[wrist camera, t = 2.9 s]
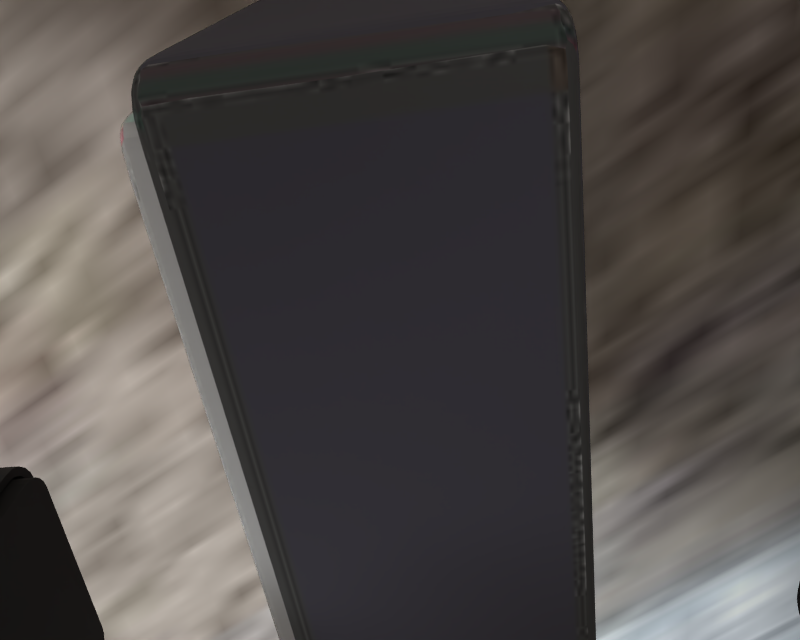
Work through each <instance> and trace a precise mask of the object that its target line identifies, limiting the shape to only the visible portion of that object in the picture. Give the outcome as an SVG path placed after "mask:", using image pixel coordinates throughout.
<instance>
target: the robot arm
mask: <svg viewBox="0 0 800 640" xmlns="http://www.w3.org/2000/svg"><path fill="white" fill-rule="evenodd" d="M797 603H798V610H799V614H800V583H799V588H798V594H797ZM0 640H104V632H103V628H102V625H101V623H100V620H99V618H98V615H97V613H96V610H95V608H94V605H93V603H92V600H91V598H90V595H89V593H88V590H87V587H86V585H85V582H84V580H83V577H82V575H81V572H80V570H79V567H78V565H77V562H76V560H75V557H74V555H73V552H72V550H71V547H70V544H69V542H68V539H67V537H66V534H65V532H64V529H63V527H62V524H61V522H60V519H59V517H58V514H57V512H56V509H55V507H54V504H53V502H52V499H51V496H50V494H49V491H48V489H47V487H46V485H45V483H44V481H42V480H41V479H40V478H33V476H32V474H31V472H29V471H28V470H27V469H26V468H23V467H5V468H0Z"/></svg>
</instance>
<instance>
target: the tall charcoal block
mask: <svg viewBox="0 0 800 640" xmlns="http://www.w3.org/2000/svg"><path fill="white" fill-rule="evenodd" d="M131 95H132V110H133V112H132V113H130V114H129V115H128V116H127V117H126V119H125V121H124V122H123V124H122V126H121V132H120V139H121V146H122V152H123V155H124V159H125V163H126V166H127V170H128V174H129V177H130V181H131V184H132V187H133V190H134V193H135V196H136V199H137V203H138V206H139V209H140V212H141V215H142V218H143V221H144V224H145V227H146V230H147V233H148V236H149V239H150V242H151V246H152V249H153V252H154V255H155V258H156V261H157V264H158V267H159V270H160V273H161V276H162V279H163V282H164V286H165V289H166V292H167V295H168V298H169V301H170V304H171V307H172V310H173V313H174V316H175V319H176V322H177V326H178V329H179V332H180V335H181V338H182V341H183V344H184V347H185V350H186V353H187V356H188V359H189V362H190V365H191V369H192V372H193V375H194V378H195V381H196V384H197V387H198V390H199V393H200V396H201V399H202V402H203V405H204V409H205V412H206V415H207V418H208V421H209V424H210V427H211V430H212V433H213V436H214V439H215V442H216V445H217V448H218V452H219V455H220V458H221V461H222V464H223V467H224V470H225V473H226V476H227V479H228V482H229V485H230V488H231V492H232V495H233V498H234V501H235V504H236V507H237V510H238V513H239V516H240V519H241V522H242V525H243V528H244V532H245V535H246V538H247V541H248V544H249V547H250V550H251V553H252V556H253V559H254V562H255V565H256V568H257V571H258V575H259V578H260V581H261V584H262V587H263V590H264V593H265V596H266V599H267V602H268V605H269V608H270V611H271V615H272V618H273V621H274V624H275V627H276V630H277V633H278V636H279V639H280V640H596V625H595V590H594V556H593V522H592V488H591V454H590V420H589V386H588V351H587V317H586V283H585V249H584V215H583V181H582V146H581V112H580V78H579V53H578V45H577V36H576V30H575V26H574V23H573V19H572V16H571V14H570V12H569V10H568V8H567V7H566V6H565V5H564V4H563V3H562V2H561V1H560V0H259V1H257V2H255V3H253V4H251V5H249V6H248V7H246V8H244V9H242V10H240V11H238V12H236V13H234V14H232V15H230V16H228V17H226V18H225V19H223V20H221V21H219V22H217V23H215V24H213V25H211V26H209V27H207V28H205V29H204V30H202V31H200V32H198V33H196V34H194V35H192V36H190V37H188V38H186V39H184V40H183V41H181V42H179V43H177V44H175V45H173V46H171V47H169V48H167V49H165V50H163V51H161V52H160V53H158V54H156V55H154V56H153V57H151V58H149V59H147V60H146V61H145V62H144V63H143V64H142V65H141V66H140V67H139V69H138V70H137V71H136V73H135V76H134V79H133V84H132V91H131Z"/></svg>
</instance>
